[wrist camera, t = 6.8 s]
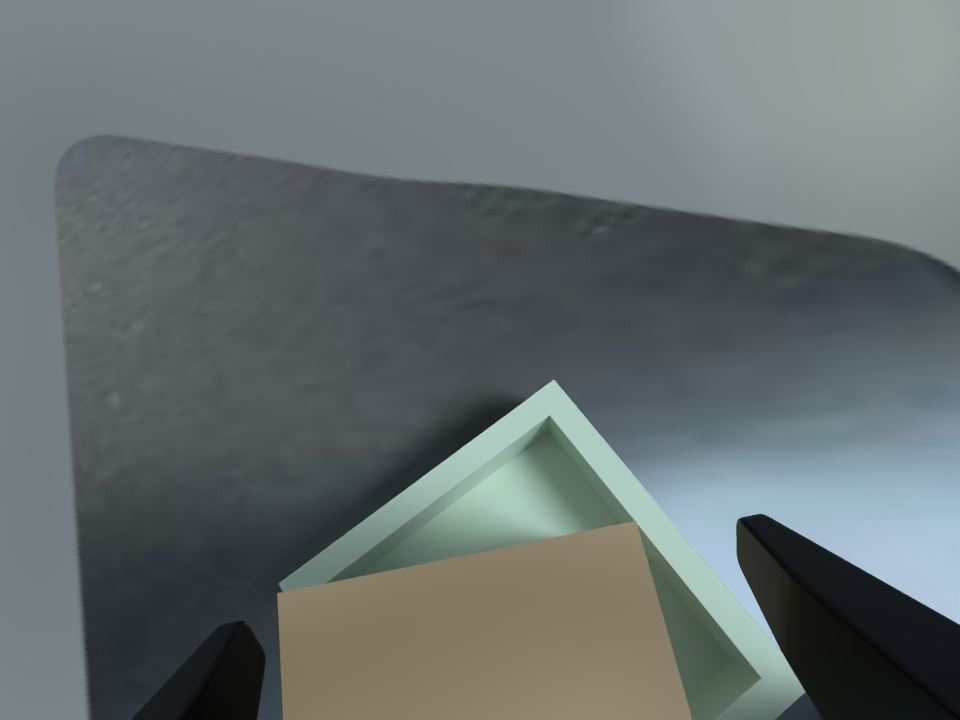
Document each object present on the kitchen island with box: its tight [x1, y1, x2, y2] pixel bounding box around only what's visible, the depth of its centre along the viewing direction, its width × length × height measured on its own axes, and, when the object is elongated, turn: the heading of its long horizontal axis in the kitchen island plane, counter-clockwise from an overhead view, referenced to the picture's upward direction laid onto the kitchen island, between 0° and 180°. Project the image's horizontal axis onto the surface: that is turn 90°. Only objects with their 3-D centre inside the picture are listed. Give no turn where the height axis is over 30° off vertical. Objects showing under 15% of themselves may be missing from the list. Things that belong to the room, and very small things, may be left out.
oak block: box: [277, 521, 692, 720], centre depth 11 cm, size 4×4×12 cm
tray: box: [278, 380, 805, 720], centre depth 15 cm, size 10×10×3 cm
